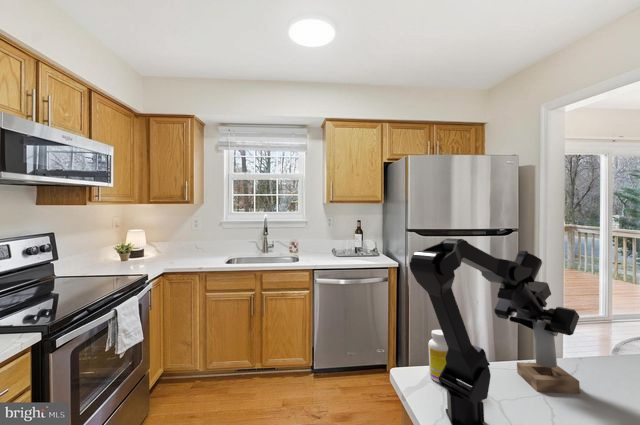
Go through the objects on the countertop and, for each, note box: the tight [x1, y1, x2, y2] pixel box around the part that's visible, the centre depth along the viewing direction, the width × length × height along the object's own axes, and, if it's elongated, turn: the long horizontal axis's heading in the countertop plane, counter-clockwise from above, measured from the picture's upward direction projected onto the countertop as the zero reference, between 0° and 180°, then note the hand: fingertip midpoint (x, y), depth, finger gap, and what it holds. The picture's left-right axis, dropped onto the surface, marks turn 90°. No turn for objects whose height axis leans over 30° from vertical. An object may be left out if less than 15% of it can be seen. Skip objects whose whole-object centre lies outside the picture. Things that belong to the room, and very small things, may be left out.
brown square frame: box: [516, 361, 581, 394], centre depth 83 cm, size 10×10×3 cm
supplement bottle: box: [427, 329, 448, 384], centre depth 87 cm, size 7×7×13 cm
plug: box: [532, 319, 558, 368], centre depth 84 cm, size 5×5×14 cm
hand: (546, 332), depth 84 cm, fingers closed on plug, 5 cm apart
